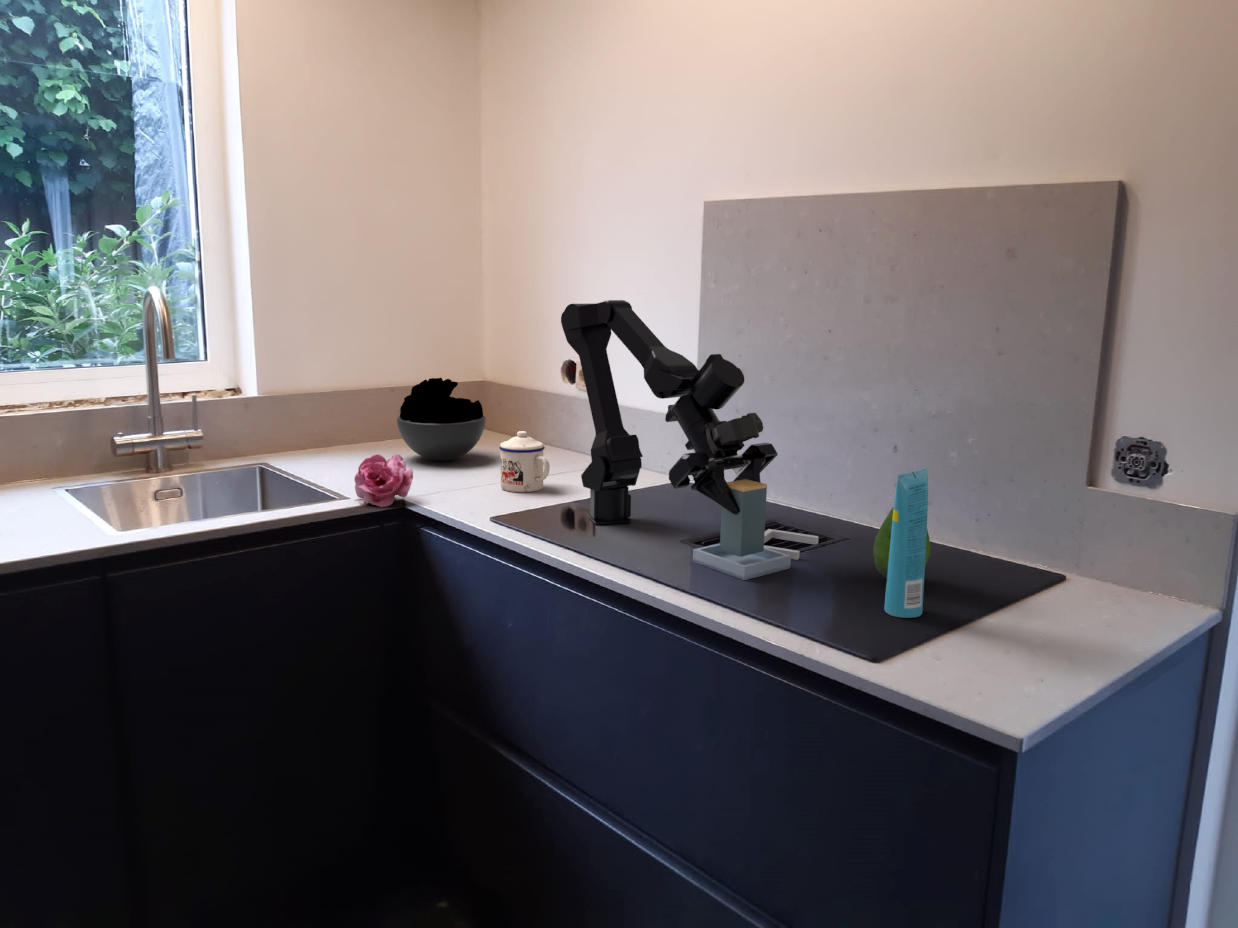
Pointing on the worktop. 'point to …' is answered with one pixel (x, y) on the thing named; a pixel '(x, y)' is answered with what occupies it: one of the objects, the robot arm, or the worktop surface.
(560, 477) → the worktop surface
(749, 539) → the block
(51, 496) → the worktop surface
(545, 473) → the teacup with lid
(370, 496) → the flower
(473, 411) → the bowl of black rocks
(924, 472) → the tube
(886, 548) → the avocado
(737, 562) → the tray
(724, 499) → the robot arm
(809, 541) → the frame
